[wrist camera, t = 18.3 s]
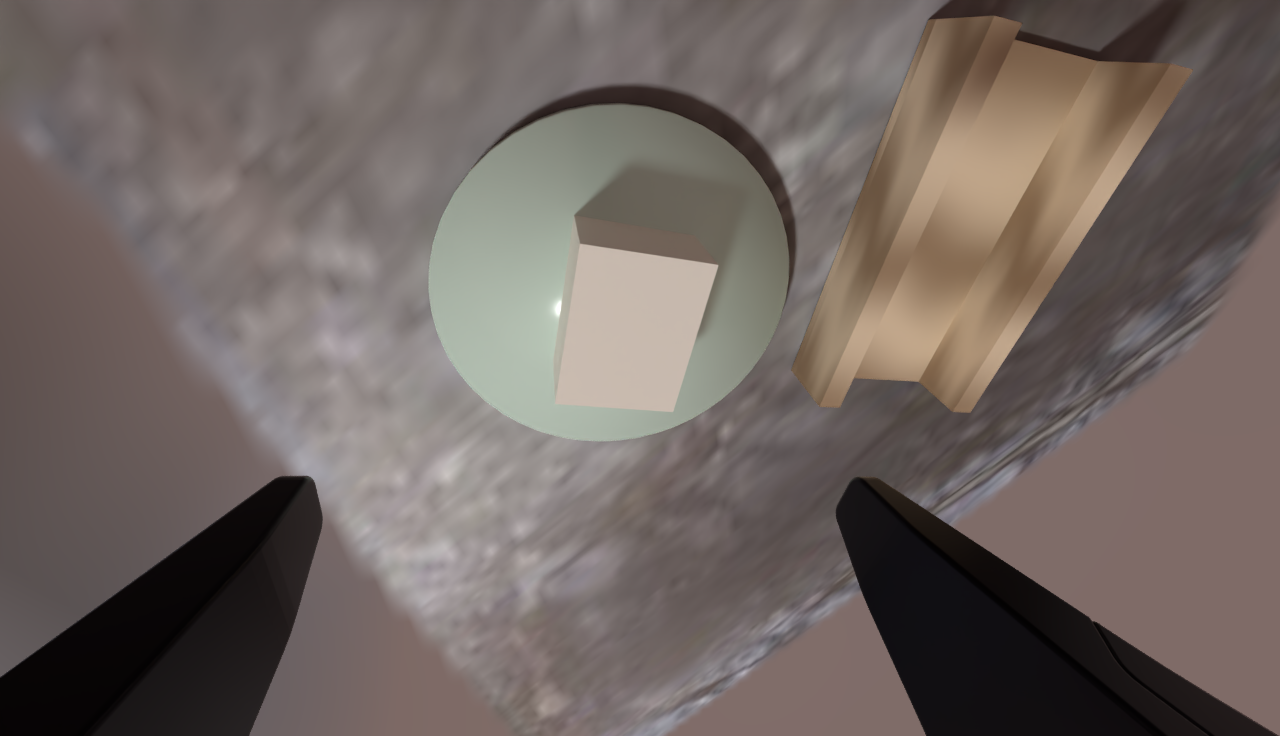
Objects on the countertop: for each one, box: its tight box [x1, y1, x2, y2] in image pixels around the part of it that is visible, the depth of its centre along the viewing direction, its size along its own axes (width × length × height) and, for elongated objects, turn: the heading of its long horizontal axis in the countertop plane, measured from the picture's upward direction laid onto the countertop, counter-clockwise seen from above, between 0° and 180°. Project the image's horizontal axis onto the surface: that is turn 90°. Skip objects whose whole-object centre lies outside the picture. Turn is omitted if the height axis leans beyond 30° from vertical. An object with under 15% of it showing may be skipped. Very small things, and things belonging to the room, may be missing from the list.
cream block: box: [553, 215, 718, 412], centre depth 18 cm, size 6×4×3 cm
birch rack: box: [791, 16, 1193, 412], centre depth 20 cm, size 14×8×3 cm, turn 170°
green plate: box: [429, 103, 789, 441], centre depth 20 cm, size 14×14×1 cm
